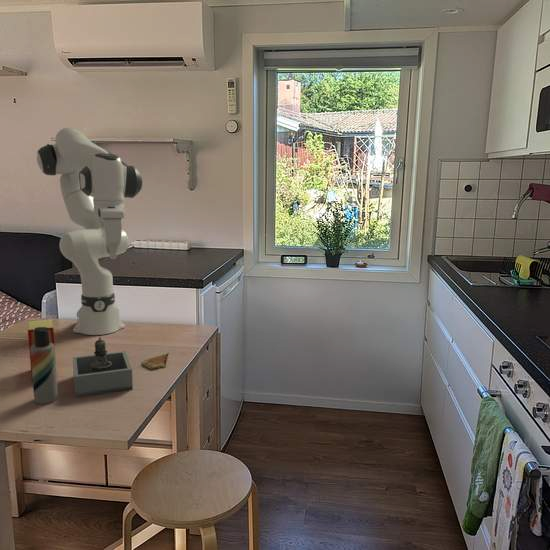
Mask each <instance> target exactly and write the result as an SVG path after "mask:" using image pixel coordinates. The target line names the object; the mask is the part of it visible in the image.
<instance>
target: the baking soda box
mask: <svg viewBox="0 0 550 550" xmlns="http://www.w3.org/2000/svg"><path fill="white" fill-rule="evenodd" d="M37 327H47V328H48V329H49V334H50V343H52V344H54V345H55V333H54V324H53V318H46V319H45V318H44V319H35V320H28V323H27V335H28V337H27V338H28V347H29V349H28V350H29V360H30V371H31V372H30V373H31V374H30V375H31V383H33V377H32V364H31V351H30V348H31V346H33V345H34V337H33V331H34V329H35V328H37ZM54 349H55V350H56V347H55V346H54ZM55 363H56V360H55ZM56 364H57V363H56ZM56 377H57V375H56Z"/></svg>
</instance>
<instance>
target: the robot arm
mask: <svg viewBox="0 0 550 550" xmlns="http://www.w3.org/2000/svg"><path fill="white" fill-rule="evenodd" d="M36 153H37V155H36V162H37V165H38V167H39V169H40V170H41V172H42V173H43V174H44V175H46V176H56V175H60V177H59V186H60V191H61V195H62V198H63V202H64V205H65V208H66V211H67V214H68V217H69V219H70V220H71V222H73V223H74V224H76V225H79V226H81V227H83V229H75V230H72V231H68V232H65V233H63V234H62V236H60V240H59V246H58V247H59V250H60V252H61V255H62V256H63V257H64V258H65V259H67V260H68V261H70V262H71V263H73V265H74V266H75V267H76V269H77V270H78V273H79V276H80V282H81V292H82V293H81V295H80V297H81V298H80V301H81V306H80V308H79V309H78V311H76V317H77V322H76V324H75V325H74V327H73V329H72V330H73V331H72V332H73V333H76V334H77V333H78V334H83V335H87V336H88V335H89V336H100V335H107V334H112V333H115V332H117V331H118V330H121V329H124V328H126V325H125V323H124V322H123V321H122V320H121V315H120V307H119V306H118V305H116V303H115V302H116V300H115V298H116V295H115V293H114V282H113V281H114V279H113V274H112V272H111V271H110V270H109V269H108V268H105V267H103V266H101V265H100V262H99V258H108V257H109V258H110V259H111V260H116V259H117V256H118V255H121V254H123V253H125V252H127V250H128V247H129V243H130V239H129V236H128V234H127V232H126V231H125V230H124V229H123V219H125V216H126V204H125V203H126V202H125V200H126V199H125V198H129V199H133V198H135V197H136V196H137V195H138V194H139V193H140V192H141V190H142V189H143V179H142V175H141V173H140V171H139V170H138V169H137V168H136V167H134V166H133V165H128V164H127V163H125V162H124V161H122V159H121V157H120V156H119V155H116V154H113V153H112V152H110V151H108V150H106V149H104V148H102V147H101V146H99V145H97V143H96V142H95V141H93V140H90V139H89V138H88V137H87V136H86V135H85V134H84V133H83V132H81V131H79V130H77V129H76V128H73V127H63V128H62V129H60V130H59V131H58V132H57V133H56V135H55V142H54V144H49V143H46V145H44V146H42V147H40V148H39V149H38V150H37V152H36Z"/></svg>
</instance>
